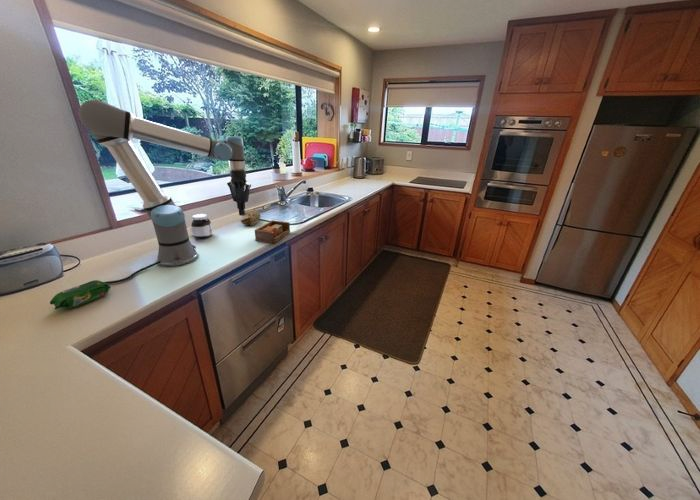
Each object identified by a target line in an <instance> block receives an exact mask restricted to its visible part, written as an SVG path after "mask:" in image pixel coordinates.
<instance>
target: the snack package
mask: <svg viewBox="0 0 700 500" xmlns="http://www.w3.org/2000/svg"><path fill="white" fill-rule="evenodd" d="M105 282H106V281H102V280H99V279H95V280H89V281H87V282H85V283H83V284H80V285H76V286H74V287H71V288H68V289H65V290H62V291H60V292H58V293H56V294H55V295H54V296H53V297H52V298H51V299H50V301H49V304H50V305H54V310H58V309H61V308H64V309H72V308H77V307H79V306H82V305H85V304H87V303H90V302H92V301H95V300H97V299H99V298H102V297H104V296H106V295H107V294H108V292H109V291H110V290H111V288H112V287H111V285H110V284H107V283H105Z"/></svg>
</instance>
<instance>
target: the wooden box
mask: <svg viewBox="0 0 700 500" xmlns="http://www.w3.org/2000/svg"><path fill="white" fill-rule="evenodd" d="M290 233H291V225H290V222H288V221H281V220H270V221H268V222H266V223H265V224H263V225H261V226H259V227H257V228H256V229H254V238H255V241H256V242H261V243H267V244H268V243H269V244H276V243H277V242H278V241H280V240H281V239H283V238H284V237H286V236H287V235H288V234H290Z"/></svg>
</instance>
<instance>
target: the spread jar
mask: <svg viewBox="0 0 700 500" xmlns="http://www.w3.org/2000/svg"><path fill="white" fill-rule="evenodd" d="M191 217H192V221H191V224H190V226H189V231H190V232H191V233H192V235H193V237H194V238H196V239H202V240H203V239H207V238H210V237H211V236H212V233H213V227H212V221H211V220H210V219H209V218H208V215H207V213H197V214H193V215H192V216H191Z"/></svg>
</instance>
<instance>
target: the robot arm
mask: <svg viewBox="0 0 700 500" xmlns="http://www.w3.org/2000/svg"><path fill="white" fill-rule="evenodd" d="M78 117H79V120H80V122H81V123H82V125H83V126H84V127H85V128H86V129H87V130H88V131H90V134H92V135H93V137H94V139H95V140H96V141H97V143H98V144H99V145H101V146H103V147H106V148H107V150H108V151H109V153H110V155H111V156H112V157H113V158H114V161H116V163H117V165H118V166H119V168H120V169H121V170H122V171H123V173H124V175H125V177H126V178H127V179H128V180H129V182H130V184H131V185H132V187H133V188H134V189H135V191H136V193H137V194H138V195H139V197H140V198H141V200H142V201H143V204H142V208H143V210H144V211H145V213H146V214H147V216H148V217H149V218H150V220H151V222H152V226H153V229H154V233H155V236H156V240H157V244H158V252H157V256H156V257H157V258H156V259H157V261H156V262H153V263H152V264H149V265H147V266H144V267H142V268H140V269H138V270H135V271H134V272H132V273H131V274H130V275H128V276H126V277H124V278H121V279H116V280H108V281H104V282H105V283H107V284H108V285H111V284H118V283H121V282H125V281H128V280H130V279H132V278H133V277H134V276H135V275H138V274H139V273H141V272H142V271H145V270H148V269H150V268H152V267H154V266H157V265H160V266H162V267H178V266H184V265H187V264H189V263H191V262H194V261H195V260H196V259H197V258H198V252H197V250H196V249H197V247H196V245H194V244H192V242H191V241H190V237H189V232H188V228H187V227H188V226H187V223H186V215H185V212H184V210H183V208H182V207H180V206H178V205H176V204H175V202H174V200H173V198H172V197H171V196H170V195H168V194H165V193H164V191H163V190H162V188H161V187H160V184H159V183H158V181H157V179H156V178H155V176H154V175H153V173H152V172H151V170H150V168H149V167H148V165H147V164H146V162H145V161H144V159H143V157H142V155H141V154H140V153H139V150H138V149H137V148H136V146H135V145H134V143H133V141H132V139H136V140H140V141H143V142H147V143H151V144H155V145H159V146H163V147H166V148H171V149H175V150H180V151H184V152H188V153H190V154H195V155H199V156H201V157H203V158H208V159H209V158H211V159H214V160H217V161H220V162H227V161H228V168H229V177H230V181H227V183H226V185H227V186H228V188H229V191H230V195H231V198H232V202H236V208H237V209H238V215H239V216H240V217H242V215H245V211H244V210H246V203H249V199H250V198H249V197H250V190H251V187H252V184H250V183H248V181H247V179H246V178H247V171H246V161H245V160H246V158H245V146H244V145H245V144H244V140H243V137H241V136H231V135H228V136H226V137H225V140H215V139H212V138H208V137H205V136H202V135H199V134H195V133H192V132H189V131H185V130H181V129H179V128H174V127H172V126H167V125H164V124H162V123H158V122H153V121H150V120H147V119H145V118H141V117H138V116H135V115H134V114H133V112H130V111H127V110H124V109H121V108H119V107H116V106H114V105H112V104H110V103H108V102H106V101H104V100H103V101H102V100H101V99H100V100H99V99H91V100H87V101H84V102H83V103H81V105H80V106H79V108H78Z"/></svg>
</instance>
